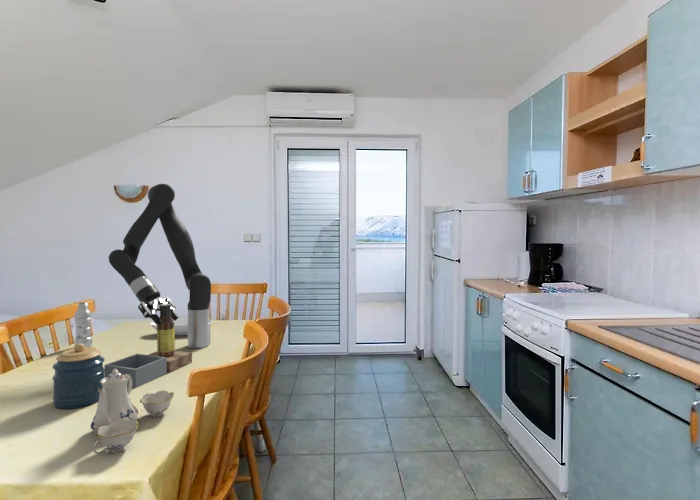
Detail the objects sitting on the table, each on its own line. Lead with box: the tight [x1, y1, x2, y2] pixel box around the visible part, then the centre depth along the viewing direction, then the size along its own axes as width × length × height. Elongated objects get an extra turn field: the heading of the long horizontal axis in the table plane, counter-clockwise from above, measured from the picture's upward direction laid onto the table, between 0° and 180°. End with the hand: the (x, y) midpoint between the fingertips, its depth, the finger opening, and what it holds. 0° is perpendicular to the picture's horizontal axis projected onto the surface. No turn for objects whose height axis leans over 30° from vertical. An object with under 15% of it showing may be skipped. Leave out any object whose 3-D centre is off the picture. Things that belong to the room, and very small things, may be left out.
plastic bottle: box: [73, 301, 93, 347], centre depth 169 cm, size 6×7×20 cm
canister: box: [52, 343, 105, 410], centre depth 116 cm, size 13×13×18 cm
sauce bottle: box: [156, 304, 176, 357], centre depth 148 cm, size 7×6×20 cm
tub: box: [103, 353, 168, 388], centre depth 135 cm, size 14×14×6 cm
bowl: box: [149, 318, 214, 336], centre depth 196 cm, size 30×15×6 cm, turn 105°
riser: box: [147, 350, 193, 373], centre depth 149 cm, size 12×14×4 cm
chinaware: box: [90, 369, 175, 454], centre depth 100 cm, size 28×17×17 cm, turn 4°
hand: (168, 321), depth 148 cm, fingers open, 8 cm apart
